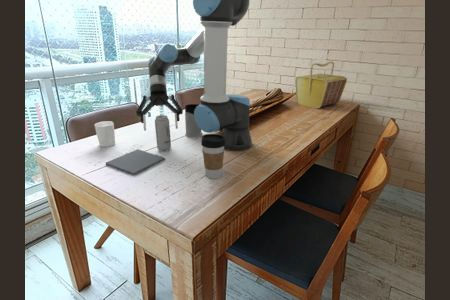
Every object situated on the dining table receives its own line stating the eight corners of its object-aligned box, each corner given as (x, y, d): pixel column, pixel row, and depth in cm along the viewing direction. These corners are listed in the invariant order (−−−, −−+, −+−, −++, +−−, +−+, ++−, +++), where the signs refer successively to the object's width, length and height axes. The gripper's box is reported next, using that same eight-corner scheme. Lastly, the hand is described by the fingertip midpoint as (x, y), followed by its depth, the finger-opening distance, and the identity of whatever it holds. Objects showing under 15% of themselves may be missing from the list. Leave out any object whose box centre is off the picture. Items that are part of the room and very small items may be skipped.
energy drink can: (168, 152, 118) (165, 119, 112) (155, 151, 119) (151, 118, 113) (173, 147, 123) (170, 115, 117) (160, 146, 124) (157, 114, 118)
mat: (165, 159, 111) (164, 157, 110) (134, 175, 98) (133, 173, 98) (137, 151, 118) (137, 149, 118) (106, 164, 106) (105, 162, 106)
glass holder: (181, 135, 137) (180, 106, 131) (197, 128, 149) (196, 101, 143) (196, 138, 133) (195, 109, 127) (210, 130, 145) (210, 103, 139)
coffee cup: (202, 170, 103) (201, 132, 97) (224, 169, 103) (224, 132, 98) (202, 181, 95) (201, 141, 89) (226, 180, 96) (226, 140, 90)
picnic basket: (313, 98, 220) (318, 60, 209) (343, 104, 202) (351, 62, 191) (291, 104, 203) (295, 62, 191) (322, 111, 185) (329, 65, 173)
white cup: (110, 148, 121) (106, 127, 117) (94, 146, 123) (90, 125, 119) (120, 142, 128) (116, 121, 125) (105, 140, 130) (101, 120, 126)
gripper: (184, 91, 132) (189, 130, 125) (131, 92, 127) (132, 133, 120) (185, 82, 125) (189, 122, 118) (128, 83, 120) (129, 126, 113)
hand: (161, 128), depth 119 cm, fingers open, 13 cm apart
